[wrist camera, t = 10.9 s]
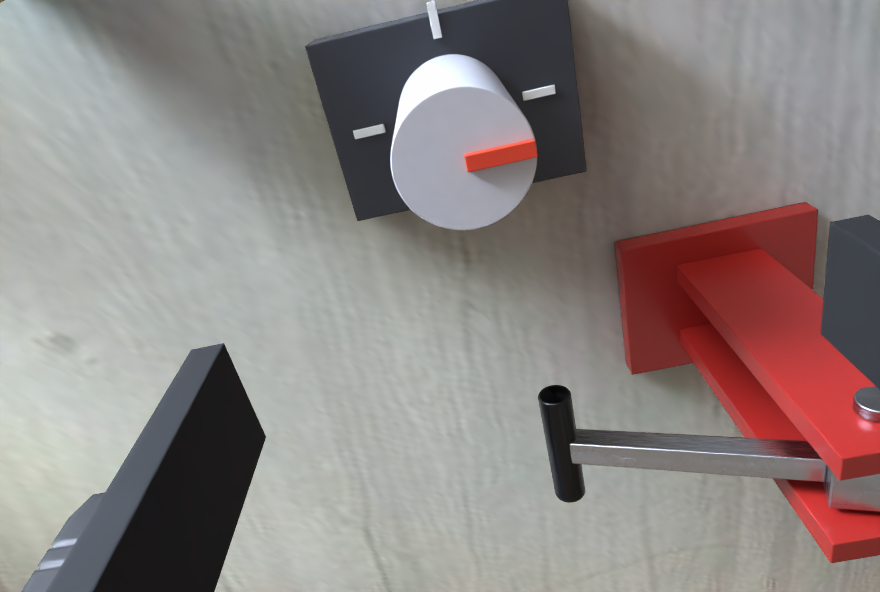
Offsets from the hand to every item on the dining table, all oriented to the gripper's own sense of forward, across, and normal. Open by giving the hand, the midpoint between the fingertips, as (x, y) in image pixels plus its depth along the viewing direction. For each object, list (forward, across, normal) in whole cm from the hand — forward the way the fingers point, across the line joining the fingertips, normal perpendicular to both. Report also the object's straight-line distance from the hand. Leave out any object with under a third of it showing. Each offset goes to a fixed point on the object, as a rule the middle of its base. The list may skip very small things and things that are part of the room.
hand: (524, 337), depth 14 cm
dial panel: (+19, -1, +2) cm, 19 cm away
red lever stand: (+19, +11, -11) cm, 25 cm away
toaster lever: (+8, +7, -11) cm, 15 cm away
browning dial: (+16, -1, +2) cm, 16 cm away
